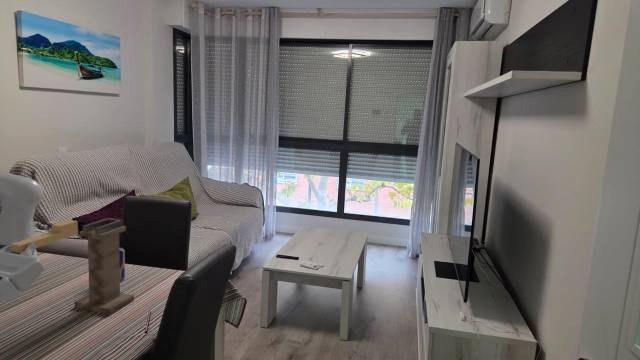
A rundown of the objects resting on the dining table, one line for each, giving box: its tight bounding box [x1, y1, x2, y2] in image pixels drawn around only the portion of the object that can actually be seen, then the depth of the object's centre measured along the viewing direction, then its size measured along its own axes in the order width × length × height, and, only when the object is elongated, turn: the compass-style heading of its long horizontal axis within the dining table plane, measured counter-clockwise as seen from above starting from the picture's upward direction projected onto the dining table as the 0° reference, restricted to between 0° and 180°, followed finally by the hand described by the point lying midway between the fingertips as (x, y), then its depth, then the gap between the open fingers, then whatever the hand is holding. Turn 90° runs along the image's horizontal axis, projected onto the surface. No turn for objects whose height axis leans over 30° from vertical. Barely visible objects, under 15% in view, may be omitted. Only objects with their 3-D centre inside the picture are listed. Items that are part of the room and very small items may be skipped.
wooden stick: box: [11, 219, 79, 253], centre depth 113 cm, size 3×18×4 cm, turn 165°
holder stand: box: [74, 217, 135, 316], centre depth 136 cm, size 14×11×28 cm
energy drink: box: [119, 247, 126, 282], centre depth 156 cm, size 5×5×12 cm
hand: (27, 243), depth 108 cm, fingers closed on wooden stick, 3 cm apart
